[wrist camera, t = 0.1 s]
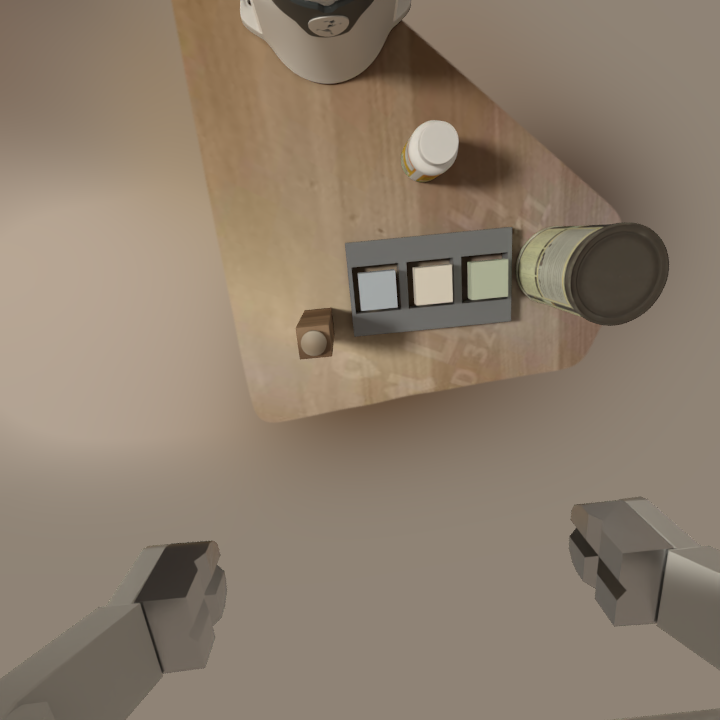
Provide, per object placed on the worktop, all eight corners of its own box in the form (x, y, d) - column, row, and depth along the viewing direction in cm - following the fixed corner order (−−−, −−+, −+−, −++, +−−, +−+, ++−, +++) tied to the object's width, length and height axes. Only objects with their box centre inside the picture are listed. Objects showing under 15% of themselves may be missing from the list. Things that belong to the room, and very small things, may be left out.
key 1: (357, 272, 53) (357, 274, 51) (393, 269, 53) (395, 270, 51) (360, 308, 54) (361, 311, 52) (396, 305, 54) (397, 307, 52)
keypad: (344, 243, 54) (345, 243, 52) (506, 227, 54) (512, 227, 52) (354, 333, 57) (354, 336, 55) (505, 318, 57) (510, 321, 55)
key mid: (412, 267, 53) (414, 268, 51) (448, 263, 53) (451, 264, 51) (414, 303, 54) (416, 305, 52) (449, 299, 54) (452, 301, 52)
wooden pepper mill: (304, 310, 56) (295, 329, 45) (331, 307, 56) (328, 326, 45) (308, 336, 57) (299, 360, 46) (334, 333, 57) (331, 357, 46)
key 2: (467, 261, 53) (471, 262, 51) (503, 258, 53) (508, 259, 51) (467, 298, 54) (471, 300, 52) (503, 294, 54) (507, 296, 52)
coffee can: (584, 214, 54) (664, 207, 40) (596, 290, 57) (674, 307, 43) (507, 240, 54) (560, 242, 41) (522, 313, 57) (577, 338, 44)
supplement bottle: (452, 150, 51) (476, 131, 42) (429, 191, 52) (447, 182, 43) (415, 125, 50) (431, 101, 41) (392, 168, 51) (403, 153, 42)
